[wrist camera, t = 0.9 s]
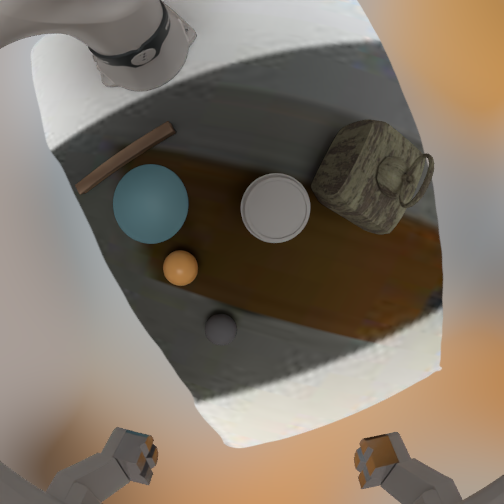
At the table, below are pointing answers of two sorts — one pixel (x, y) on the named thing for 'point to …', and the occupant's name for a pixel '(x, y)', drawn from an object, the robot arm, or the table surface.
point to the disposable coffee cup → (275, 208)
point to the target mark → (150, 203)
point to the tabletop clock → (371, 175)
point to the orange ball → (180, 268)
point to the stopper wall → (125, 156)
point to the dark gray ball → (221, 329)
